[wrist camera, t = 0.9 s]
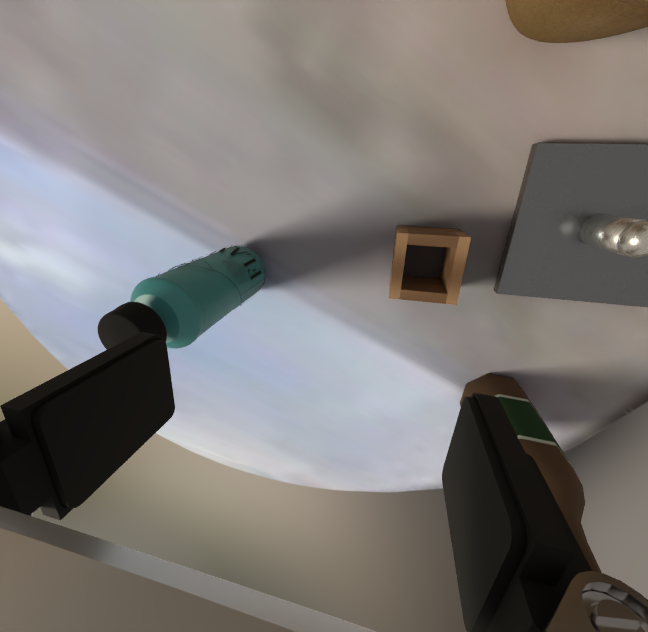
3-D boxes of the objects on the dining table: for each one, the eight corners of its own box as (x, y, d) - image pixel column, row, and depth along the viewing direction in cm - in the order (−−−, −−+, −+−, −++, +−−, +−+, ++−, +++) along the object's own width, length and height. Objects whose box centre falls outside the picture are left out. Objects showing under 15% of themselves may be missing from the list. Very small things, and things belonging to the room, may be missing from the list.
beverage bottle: (282, 268, 38) (180, 345, 20) (250, 302, 41) (136, 396, 23) (242, 230, 37) (99, 273, 19) (213, 267, 40) (64, 335, 22)
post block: (532, 144, 28) (580, 130, 21) (716, 146, 26) (842, 132, 18) (493, 290, 34) (520, 318, 26) (641, 303, 31) (715, 338, 24)
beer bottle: (445, 402, 40) (504, 652, 19) (485, 360, 37) (613, 605, 15) (496, 431, 40) (613, 713, 19) (541, 392, 37) (745, 680, 16)
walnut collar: (396, 225, 33) (397, 232, 28) (459, 229, 32) (471, 237, 27) (389, 282, 36) (389, 298, 31) (447, 287, 35) (456, 304, 30)
